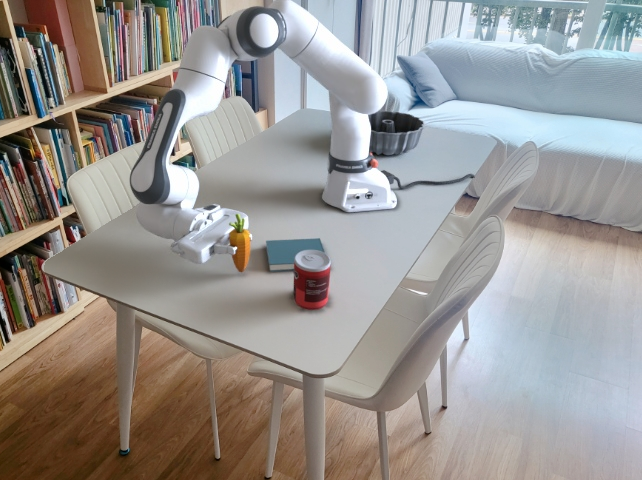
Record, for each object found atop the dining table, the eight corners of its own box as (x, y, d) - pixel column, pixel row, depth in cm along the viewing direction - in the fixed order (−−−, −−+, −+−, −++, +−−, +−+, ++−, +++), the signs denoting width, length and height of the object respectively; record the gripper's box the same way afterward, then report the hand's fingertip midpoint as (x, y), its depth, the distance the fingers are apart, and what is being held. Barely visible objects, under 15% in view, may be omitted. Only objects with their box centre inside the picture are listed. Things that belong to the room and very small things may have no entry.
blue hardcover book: (319, 245, 136) (320, 238, 135) (327, 268, 127) (327, 261, 126) (266, 247, 135) (266, 240, 133) (269, 271, 126) (269, 264, 124)
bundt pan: (334, 145, 195) (336, 119, 190) (379, 130, 210) (382, 105, 204) (390, 167, 180) (394, 139, 174) (434, 149, 194) (439, 122, 189)
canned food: (304, 285, 121) (306, 245, 115) (334, 298, 117) (338, 257, 111) (286, 302, 116) (286, 260, 110) (316, 315, 112) (318, 273, 106)
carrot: (248, 279, 122) (246, 223, 113) (228, 276, 122) (224, 220, 114) (254, 268, 126) (252, 212, 117) (234, 265, 126) (231, 210, 118)
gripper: (164, 236, 115) (215, 253, 110) (218, 200, 130) (266, 214, 125) (167, 260, 119) (217, 278, 113) (220, 223, 134) (266, 237, 128)
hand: (243, 244), depth 119 cm, fingers closed on carrot, 5 cm apart
